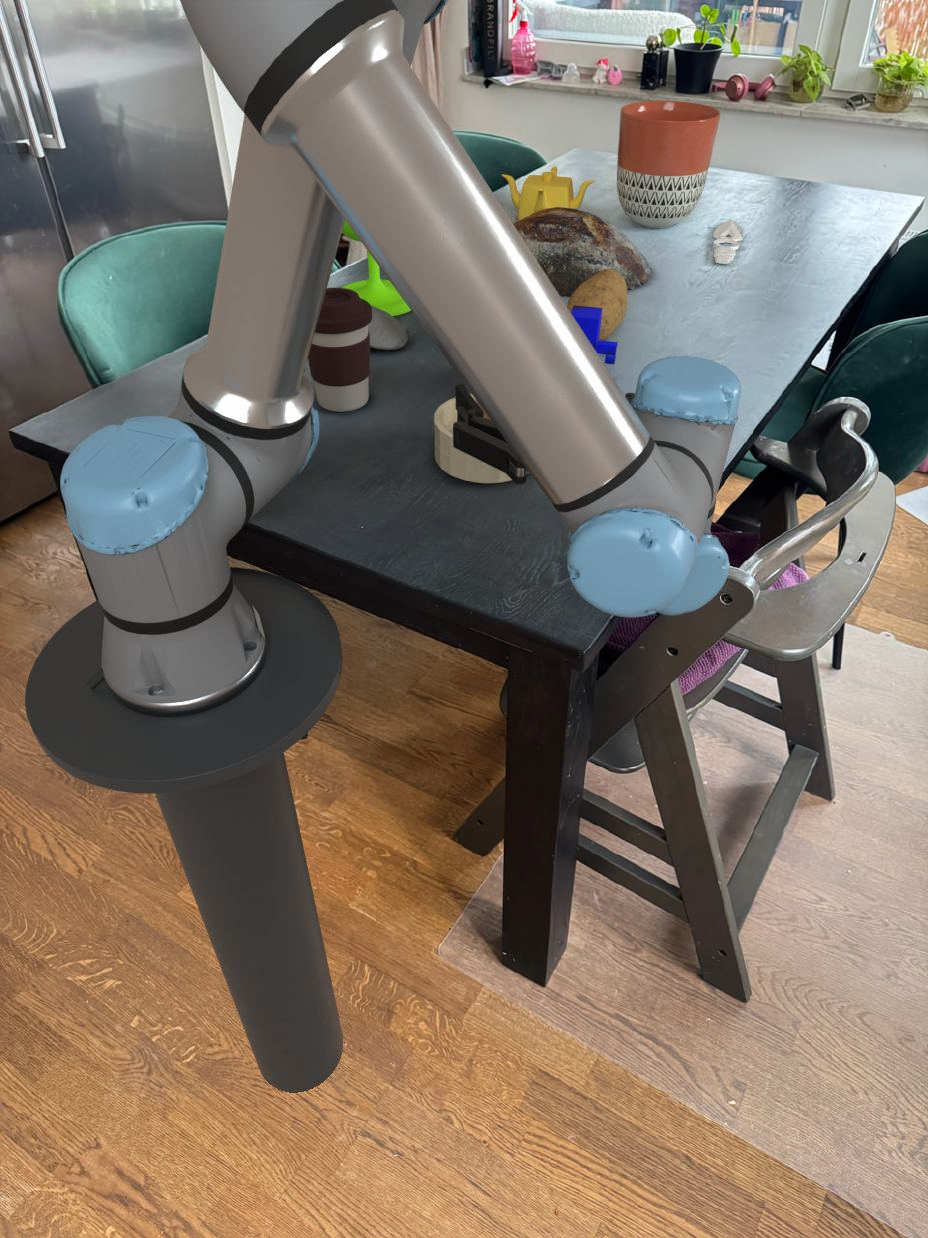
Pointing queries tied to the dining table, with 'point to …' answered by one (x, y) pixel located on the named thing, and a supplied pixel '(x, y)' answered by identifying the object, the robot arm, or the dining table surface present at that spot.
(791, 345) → the dining table surface
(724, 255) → the white lumpy piece
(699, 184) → the planter
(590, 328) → the figurine
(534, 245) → the bread
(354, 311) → the coffee cup
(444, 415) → the bowl
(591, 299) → the potato
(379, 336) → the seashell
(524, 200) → the teapot
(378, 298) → the wineglass
